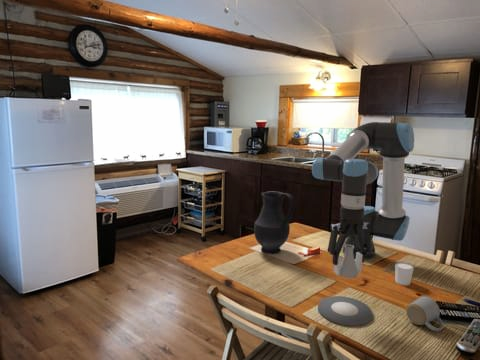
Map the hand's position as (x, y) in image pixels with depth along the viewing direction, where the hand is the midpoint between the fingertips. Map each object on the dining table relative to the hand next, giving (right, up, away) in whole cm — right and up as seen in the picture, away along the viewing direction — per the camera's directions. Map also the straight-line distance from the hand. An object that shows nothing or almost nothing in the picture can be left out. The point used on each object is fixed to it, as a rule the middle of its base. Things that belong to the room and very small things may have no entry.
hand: (347, 272), depth 127 cm
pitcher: (-20, -4, +57) cm, 60 cm away
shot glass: (+30, -11, +26) cm, 41 cm away
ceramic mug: (+25, -16, -3) cm, 30 cm away
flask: (0, -1, 0) cm, 1 cm away
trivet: (0, -14, +3) cm, 14 cm away
